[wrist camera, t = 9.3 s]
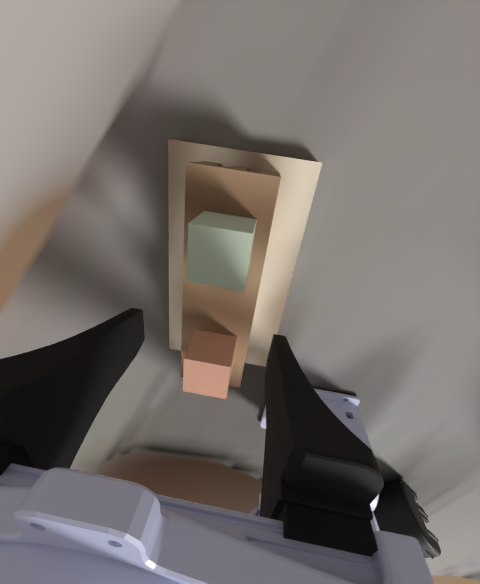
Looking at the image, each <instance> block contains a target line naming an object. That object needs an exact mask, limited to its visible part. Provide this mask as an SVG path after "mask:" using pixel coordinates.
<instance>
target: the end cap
mask: <svg viewBox="0 0 480 584" xmlns="http://www.w3.org/2000/svg"><path fill="white" fill-rule="evenodd" d="M417 499H418V498H417V496H416V493H415V492H414V491H413V490H412V489H411V488H410V487H409V486H408V485H407V484H406V483H405V482H404V481H402V480H398V481H394V482H390V483H386V484H384V486H383V488H382V490H381V492H380V493H379V498H378V503H377V506H376V508H375V510H374V511H373V513H374V515H375V518H376V521H377V524H378V526H379V529H380V531H387V532H392V533H396V534H401V535H406V536H411V537H414V538H416V539H417V540H418V542H419V545H420V547H421V550H422V553H423V555H424V558H429V557H431V558H432V559H433V558H434V557H437V556H439V555H440V553H441V550H440V547H439V545H438V539H437V538H436V537H435V536H434V535H433V534H432V533H431V532H430V531H429V530H428V529H427V528H426V526H425V524H424V522H425V523H427V522H429V521H428V519H427V518H428V516H427V515H426V514H425V512H424V510H423V509H422V508H421V507H420V506H419V505H418V504H417V503H416V502H415V500H417Z"/></svg>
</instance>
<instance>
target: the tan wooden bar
mask: <svg viewBox="0 0 480 584" xmlns="http://www.w3.org/2000/svg"><path fill="white" fill-rule="evenodd" d="M280 180H281V176H280V173H277V172H271V171H264V170H261V171H260V172H254V171H249V168H245V167H239V166H231V167H223V166H222V164H220V163H213V162H207V161H197V162H186V176H185V217H184V257H183V298H182V338H181V377H183V365H184V357H185V354H186V352H187V350H188V348H189V346H190V343H191V341H192V339H193V337H194V334H195V332H196V330H202V331H208V332H213V333H219V334H225V335H230V336H236V337H237V341H236V348H235V354H234V360H233V367H232V372H231V377H230V382H229V386H231V387H236V388H240V383H241V378H242V373H243V368H244V363H245V358H246V353H247V348H248V343H249V338H250V333H251V327H252V322H253V317H254V312H255V307H256V302H257V297H258V292H259V287H260V282H261V277H262V271H263V266H264V261H265V256H266V251H267V246H268V241H269V236H270V231H271V226H272V221H273V215H274V210H275V205H276V200H277V195H278V190H279V185H280ZM204 211H208V212H214V213H220V214H227V215H233V216H239V217H245V218H252V219H257V221H256V228H255V234H254V240H253V246H252V253H251V259H250V265H249V270H248V275H247V279H246V284H245V288H244V291H241V290H235V289H229V288H223V287H217V286H212V285H206V284H200V283H194V282H188V281H187V251H188V223H189V222H190V221H192V220H193V219H194V218H196V217H197V216H198V215H200V214H201V213H202V212H204Z"/></svg>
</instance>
